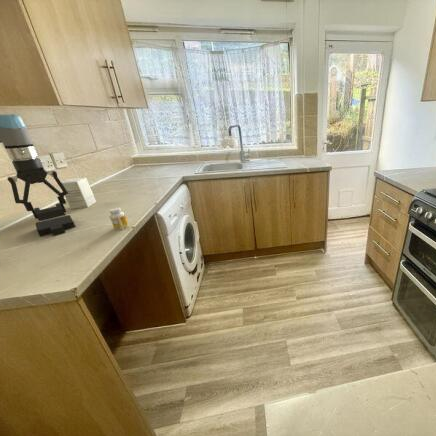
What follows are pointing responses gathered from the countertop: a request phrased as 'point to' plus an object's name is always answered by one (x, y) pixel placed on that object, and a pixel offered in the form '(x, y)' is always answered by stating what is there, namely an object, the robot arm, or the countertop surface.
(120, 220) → the supplement bottle
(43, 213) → the black pad
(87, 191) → the rectangular carton
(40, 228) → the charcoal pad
